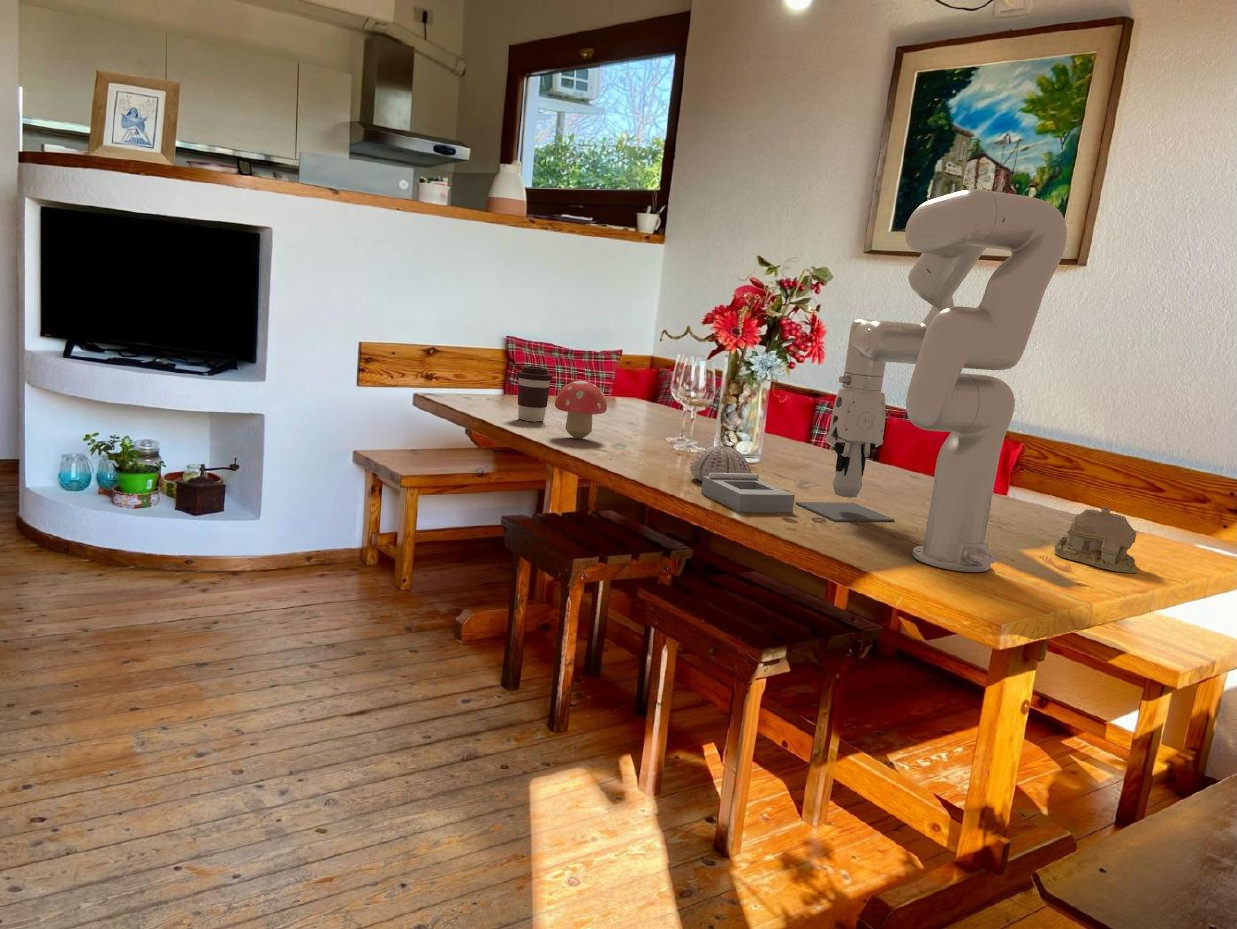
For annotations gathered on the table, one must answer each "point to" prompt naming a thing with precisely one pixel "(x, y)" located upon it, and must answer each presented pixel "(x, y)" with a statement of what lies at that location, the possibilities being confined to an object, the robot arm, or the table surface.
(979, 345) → the robot arm
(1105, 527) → the ceramic model
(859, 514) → the mat
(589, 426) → the decorative mushroom
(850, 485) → the salt shaker
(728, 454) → the sea urchin shell
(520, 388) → the coffee cup
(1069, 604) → the table surface
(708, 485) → the caddy
